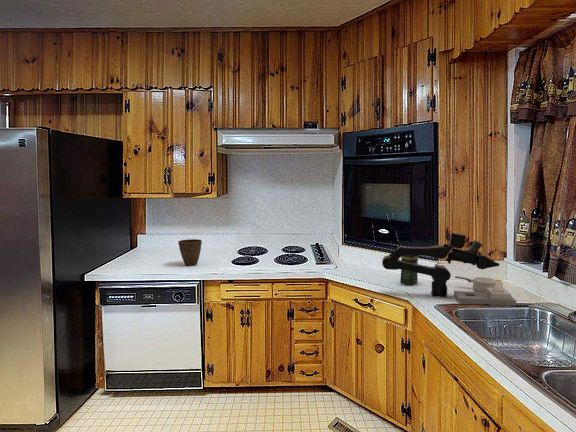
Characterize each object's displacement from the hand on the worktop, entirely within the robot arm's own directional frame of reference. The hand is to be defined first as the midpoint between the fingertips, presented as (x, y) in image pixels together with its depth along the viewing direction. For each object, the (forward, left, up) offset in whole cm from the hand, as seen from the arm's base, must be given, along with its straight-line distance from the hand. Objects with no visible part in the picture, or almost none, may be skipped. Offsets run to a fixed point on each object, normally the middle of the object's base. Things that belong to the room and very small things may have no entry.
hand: (496, 263), depth 198 cm
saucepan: (-5, +15, -17) cm, 23 cm away
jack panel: (-6, -5, -17) cm, 19 cm away
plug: (0, -5, -14) cm, 15 cm away
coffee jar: (-37, +21, -17) cm, 46 cm away
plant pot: (-173, +46, -17) cm, 180 cm away
